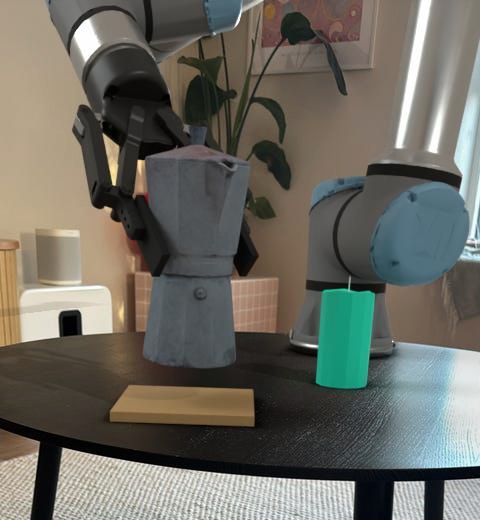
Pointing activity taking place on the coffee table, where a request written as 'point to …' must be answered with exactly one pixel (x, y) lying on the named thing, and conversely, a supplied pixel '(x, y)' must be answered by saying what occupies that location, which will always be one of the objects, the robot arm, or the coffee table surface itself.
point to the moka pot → (195, 253)
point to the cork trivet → (185, 406)
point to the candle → (344, 338)
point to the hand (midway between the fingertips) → (206, 266)
